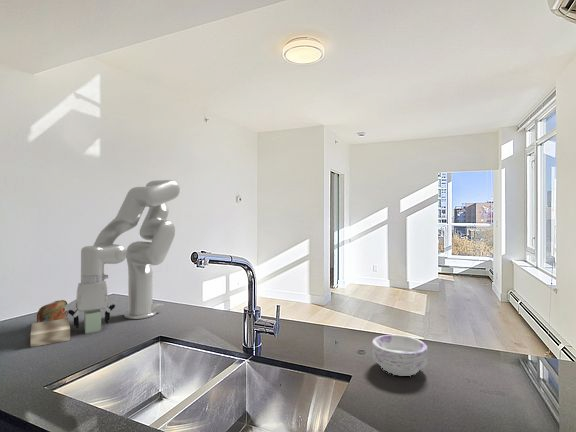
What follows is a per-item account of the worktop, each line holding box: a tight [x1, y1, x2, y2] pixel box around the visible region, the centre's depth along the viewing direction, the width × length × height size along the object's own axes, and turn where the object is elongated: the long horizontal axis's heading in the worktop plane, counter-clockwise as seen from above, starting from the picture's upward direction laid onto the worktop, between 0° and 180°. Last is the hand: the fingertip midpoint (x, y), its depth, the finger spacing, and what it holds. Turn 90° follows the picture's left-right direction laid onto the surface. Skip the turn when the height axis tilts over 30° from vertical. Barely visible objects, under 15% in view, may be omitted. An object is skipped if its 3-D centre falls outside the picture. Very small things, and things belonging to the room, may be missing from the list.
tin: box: [36, 299, 69, 323], centre depth 137 cm, size 15×3×8 cm, turn 179°
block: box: [83, 309, 102, 334], centre depth 130 cm, size 5×5×7 cm
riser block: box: [30, 317, 71, 348], centre depth 122 cm, size 11×14×4 cm
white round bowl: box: [371, 334, 429, 375], centre depth 100 cm, size 15×15×8 cm
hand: (92, 324), depth 129 cm, fingers open, 9 cm apart
